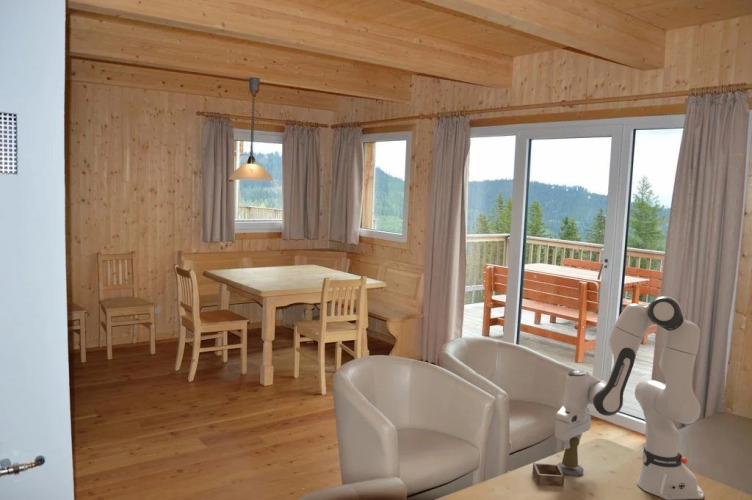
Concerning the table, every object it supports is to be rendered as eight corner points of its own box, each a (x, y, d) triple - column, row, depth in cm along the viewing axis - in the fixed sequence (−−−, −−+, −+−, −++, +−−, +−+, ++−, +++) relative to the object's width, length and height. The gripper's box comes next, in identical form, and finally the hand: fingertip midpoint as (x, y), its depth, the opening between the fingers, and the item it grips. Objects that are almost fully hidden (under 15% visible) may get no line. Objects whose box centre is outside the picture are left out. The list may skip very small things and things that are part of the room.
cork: (578, 468, 238) (581, 441, 237) (562, 466, 239) (565, 438, 238) (577, 462, 244) (579, 435, 243) (561, 459, 245) (563, 432, 244)
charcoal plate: (579, 465, 247) (579, 462, 247) (586, 477, 237) (586, 474, 237) (554, 463, 247) (554, 461, 247) (560, 475, 237) (560, 473, 237)
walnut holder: (557, 474, 238) (558, 464, 238) (563, 486, 229) (564, 476, 228) (532, 472, 239) (533, 462, 238) (537, 485, 229) (538, 474, 229)
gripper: (581, 403, 249) (578, 436, 250) (553, 414, 235) (550, 449, 237) (596, 408, 244) (593, 442, 246) (568, 420, 230) (564, 455, 232)
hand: (571, 445), depth 241 cm, fingers closed on cork, 5 cm apart
